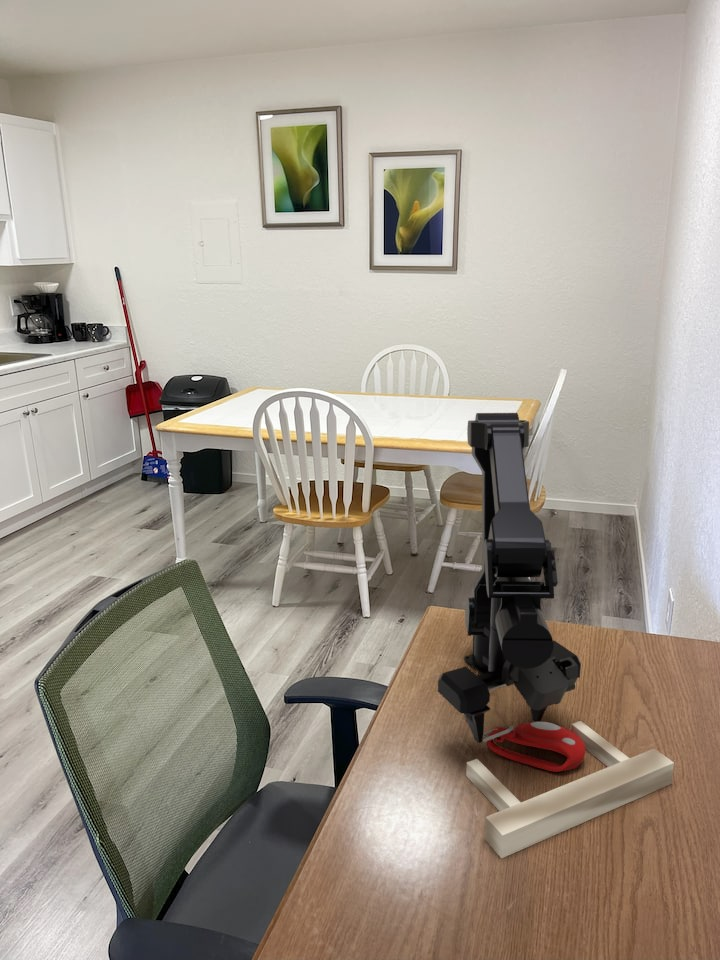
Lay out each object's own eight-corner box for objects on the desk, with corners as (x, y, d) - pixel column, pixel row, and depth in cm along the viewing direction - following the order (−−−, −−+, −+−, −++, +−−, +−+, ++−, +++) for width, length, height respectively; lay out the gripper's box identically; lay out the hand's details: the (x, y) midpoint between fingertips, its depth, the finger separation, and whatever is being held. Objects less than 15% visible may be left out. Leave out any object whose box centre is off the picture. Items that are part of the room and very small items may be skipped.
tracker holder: (544, 711, 101) (602, 733, 93) (542, 744, 101) (600, 769, 92) (475, 720, 95) (530, 744, 86) (474, 755, 95) (528, 782, 86)
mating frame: (438, 786, 89) (438, 765, 88) (596, 727, 99) (598, 708, 98) (501, 858, 78) (502, 835, 77) (671, 783, 88) (674, 762, 88)
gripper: (489, 675, 82) (484, 792, 86) (616, 636, 89) (605, 745, 94) (436, 631, 91) (434, 738, 96) (555, 599, 99) (548, 700, 103)
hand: (507, 731), depth 97 cm, fingers open, 9 cm apart
